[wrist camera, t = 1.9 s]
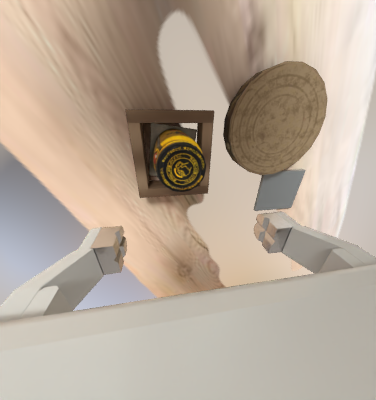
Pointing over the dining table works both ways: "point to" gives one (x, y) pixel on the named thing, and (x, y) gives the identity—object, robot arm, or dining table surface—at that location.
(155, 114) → the holder
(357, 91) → the dining table surface
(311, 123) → the round cork trivet
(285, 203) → the coaster
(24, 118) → the dining table surface
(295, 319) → the robot arm
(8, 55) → the dining table surface
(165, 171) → the condiment
